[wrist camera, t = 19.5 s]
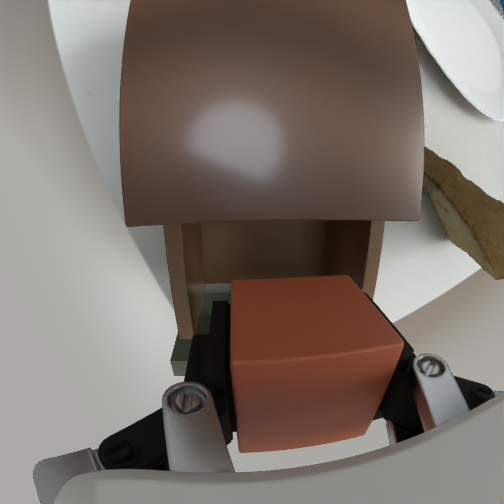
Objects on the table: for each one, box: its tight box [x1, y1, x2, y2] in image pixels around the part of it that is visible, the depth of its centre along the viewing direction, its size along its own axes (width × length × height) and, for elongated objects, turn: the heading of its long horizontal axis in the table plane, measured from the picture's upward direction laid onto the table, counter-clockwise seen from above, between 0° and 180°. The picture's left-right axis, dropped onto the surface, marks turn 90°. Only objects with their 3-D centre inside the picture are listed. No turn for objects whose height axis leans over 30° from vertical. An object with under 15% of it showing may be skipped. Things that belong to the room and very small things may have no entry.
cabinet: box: [119, 0, 424, 227], centre depth 12 cm, size 15×13×10 cm
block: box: [230, 275, 404, 453], centre depth 9 cm, size 4×4×4 cm
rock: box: [423, 147, 504, 280], centre depth 17 cm, size 11×9×10 cm
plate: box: [406, 0, 504, 122], centre depth 13 cm, size 21×21×2 cm
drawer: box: [163, 220, 385, 376], centre depth 16 cm, size 18×11×8 cm, turn 1°
